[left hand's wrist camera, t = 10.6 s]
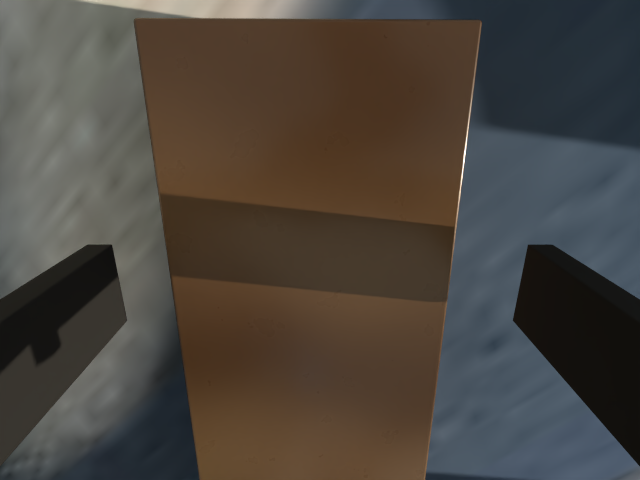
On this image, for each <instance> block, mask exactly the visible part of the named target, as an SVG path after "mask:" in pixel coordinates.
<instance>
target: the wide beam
mask: <svg viewBox="0 0 640 480" xmlns="http://www.w3.org/2000/svg"><path fill="white" fill-rule="evenodd" d="M481 26H482V21H480V20H441V19H235V18H136V19H134V27H135V34H136V41H137V48H138V54H139V61H140V68H141V75H142V82H143V89H144V96H145V103H146V110H147V117H148V124H149V131H150V138H151V145H152V152H153V159H154V166H155V173H156V180H157V187H158V194H159V201H160V208H161V215H162V222H163V229H164V236H165V243H166V249H167V256H168V263H169V270H170V277H171V284H172V291H173V298H174V305H175V312H176V319H177V326H178V333H179V340H180V347H181V354H182V361H183V368H184V375H185V382H186V389H187V396H188V403H189V410H190V417H191V424H192V431H193V438H194V444H195V451H196V458H197V465H198V472H199V479H200V480H425V475H426V467H427V459H428V451H429V443H430V435H431V427H432V419H433V411H434V403H435V395H436V387H437V379H438V371H439V363H440V355H441V347H442V339H443V331H444V323H445V314H446V306H447V298H448V290H449V282H450V274H451V266H452V258H453V250H454V242H455V234H456V226H457V218H458V210H459V202H460V194H461V186H462V178H463V170H464V162H465V154H466V146H467V138H468V130H469V122H470V114H471V106H472V98H473V90H474V82H475V74H476V66H477V58H478V50H479V42H480V34H481Z"/></svg>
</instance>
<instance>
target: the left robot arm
mask: <svg viewBox="0 0 640 480" xmlns="http://www.w3.org/2000/svg"><path fill="white" fill-rule="evenodd" d="M126 321H127V318H126V313H125V308H124V303H123V298H122V293H121V288H120V283H119V278H118V273H117V268H116V263H115V258H114V253H113V248H112V245H86V246H85V247H83V248H82V249H80V250H78V251H77V252H75V253H74V254H72V255H70V256H69V257H67V258H66V259H64V260H62V261H61V262H59V263H58V264H56V265H55V266H53V267H51V268H50V269H48V270H47V271H45V272H43V273H42V274H40V275H39V276H37V277H35V278H34V279H32V280H31V281H29V282H27V283H26V284H24V285H23V286H21V287H20V288H18V289H16V290H15V291H13V292H12V293H10V294H8V295H7V296H5V297H4V298H2V299H0V466H1V465H2V464H3V462H4V461H5V460H6V459H7V458H8V457H9V456H10V454H11V453H12V452H13V451H14V450H15V449H16V448H17V446H18V445H19V444H20V443H21V442H22V441H23V439H24V438H25V437H26V436H27V435H28V434H29V433H30V431H31V430H32V429H33V428H34V427H35V426H36V425H37V423H38V422H39V421H40V420H41V419H42V418H43V417H44V415H45V414H46V413H47V412H48V411H49V410H50V408H51V407H52V406H53V405H54V404H55V403H56V402H57V400H58V399H59V398H60V397H61V396H62V395H63V394H64V392H65V391H66V390H67V389H68V388H69V387H70V385H71V384H72V383H73V382H74V381H75V380H76V379H77V377H78V376H79V375H80V374H81V373H82V372H83V371H84V369H85V368H86V367H87V366H88V365H89V364H90V362H91V361H92V360H93V359H94V358H95V357H96V356H97V354H98V353H99V352H100V351H101V350H102V349H103V348H104V346H105V345H106V344H107V343H108V342H109V341H110V340H111V338H112V337H113V336H114V335H115V334H116V333H117V331H118V330H119V329H120V328H121V327H122V326H123V325H124V323H125V322H126ZM513 321H514V322H515V323H516V325H517V326H518V327H519V328H520V329H521V330H522V331H523V333H524V334H525V335H526V336H527V337H528V338H529V340H530V341H531V342H532V343H533V344H534V345H535V346H536V348H537V349H538V350H539V351H540V352H541V353H542V354H543V356H544V357H545V358H546V359H547V360H548V361H549V362H550V364H551V365H552V366H553V367H554V368H555V369H556V371H557V372H558V373H559V374H560V375H561V376H562V377H563V379H564V380H565V381H566V382H567V383H568V384H569V385H570V387H571V388H572V389H573V390H574V391H575V392H576V394H577V395H578V396H579V397H580V398H581V399H582V400H583V402H584V403H585V404H586V405H587V406H588V407H589V408H590V410H591V411H592V412H593V413H594V414H595V415H596V417H597V418H598V419H599V420H600V421H601V422H602V423H603V425H604V426H605V427H606V428H607V429H608V430H609V431H610V433H611V434H612V435H613V436H614V437H615V438H616V439H617V441H618V442H619V443H620V444H621V445H622V446H623V448H624V449H625V450H626V451H627V452H628V453H629V454H630V456H631V457H632V458H633V459H634V460H635V461H636V462H637V464H638V465H639V466H640V299H638V298H636V297H635V296H633V295H632V294H630V293H628V292H627V291H625V290H624V289H622V288H620V287H619V286H617V285H616V284H614V283H613V282H611V281H609V280H608V279H606V278H605V277H603V276H601V275H600V274H598V273H597V272H595V271H593V270H592V269H590V268H589V267H587V266H585V265H584V264H582V263H581V262H579V261H578V260H576V259H574V258H573V257H571V256H570V255H568V254H566V253H565V252H563V251H562V250H560V249H558V248H557V247H555V246H554V245H528V248H527V253H526V258H525V263H524V268H523V273H522V278H521V283H520V288H519V293H518V298H517V303H516V308H515V313H514V318H513Z"/></svg>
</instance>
